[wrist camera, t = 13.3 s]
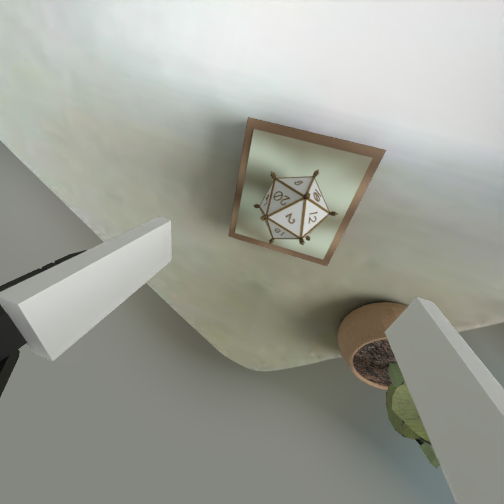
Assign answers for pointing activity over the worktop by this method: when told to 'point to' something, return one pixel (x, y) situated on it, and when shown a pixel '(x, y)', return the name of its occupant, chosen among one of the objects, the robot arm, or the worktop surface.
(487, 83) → the worktop surface
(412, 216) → the worktop surface
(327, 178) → the walnut framed mirror
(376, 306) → the potted plant
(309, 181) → the game die
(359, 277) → the worktop surface
